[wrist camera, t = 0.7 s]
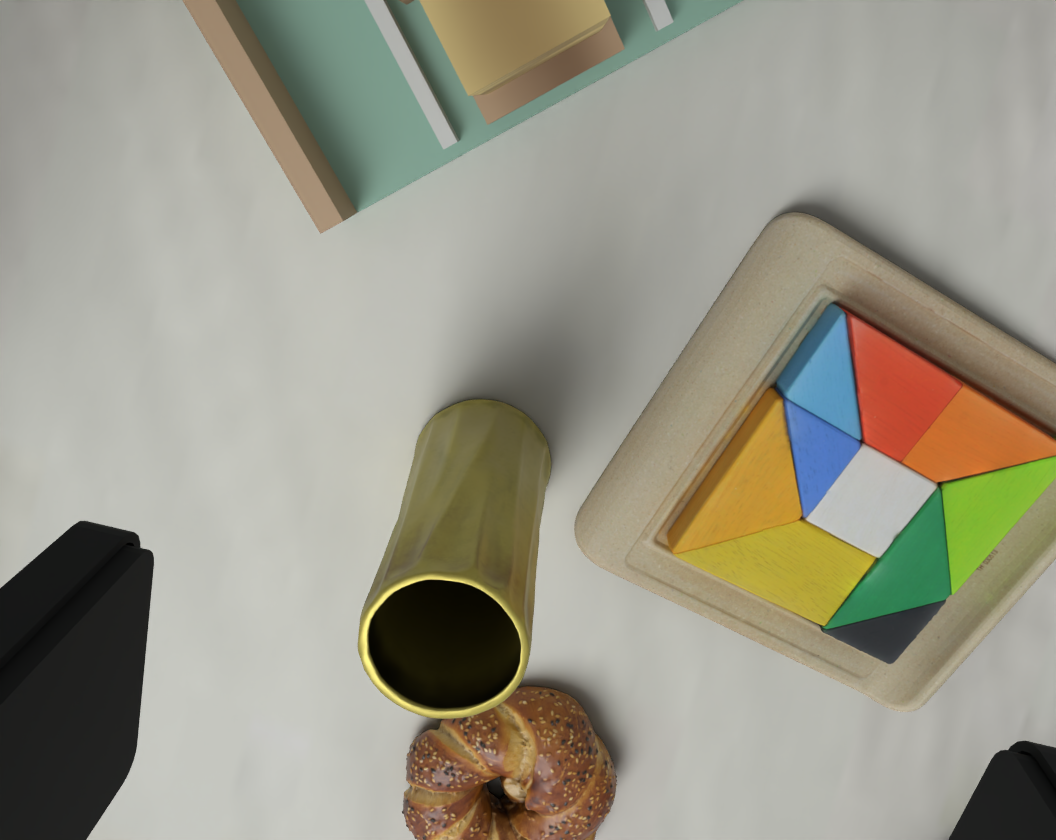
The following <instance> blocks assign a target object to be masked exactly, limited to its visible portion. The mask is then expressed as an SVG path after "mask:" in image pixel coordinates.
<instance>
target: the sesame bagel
mask: <svg viewBox="0 0 1056 840" xmlns="http://www.w3.org/2000/svg"><path fill="white" fill-rule="evenodd" d="M406 770H407V777H406V780H407V781H408V783H409V784H410V786H411V787H410V788H409V789H408V790H406V791H405V792H404V801H403V802H404V803H403V811H402V813H403V814H404V816H405V819H406V826H407V827H408V828H409V831H411V832H412V833H413V835H414V837H415V839H416V838H417V840H594V839H595V835H596V831H597V829H598V828H599V826H600V824H601V823H602V822H603V821H604V818H605V817H606V815H607V814H608V813H609V812H610V809H611V806H612V804H613V801H614V798H615V792H616V785H617V784H616V782H617V780H616V778H617V775H616V774H615V770H614V764H613V760H612V759H611V756H610V755H609V753H608V751H607V749H606V747H605V745H604V744H603V742H602V740H601V739H600V738H599V737H598V735H597V734H595V733H594V730H593V727H592V725H591V722H590V720H589V718H588V716H587V715H586V713H585V712H584V710H583V708H582V707H581V706H580V705H579V703H578V702H577V701H576V700H575V699H573V698H572V697H570V696H569V695H568V694H565V693H562V692H560V691H557V690H554V689H550V688H545V687H529V686H525V687H519V688H516V690H515V691H514V692H513V693H512V694H511V695H510V696H509V697H508V698H507V699H506V700H505V701H503V702H502V703H500V704H499V705H497V706H495V707H493V708H491V709H489V710H487V711H485V712H482V713H479V714H476V715H473V716H469V717H463V718H452V719H443V720H442V721H441V724H440V726H439V728H438V730H432V729H430V730H427V731H425V732H423V733H422V734H421V735H420V736H417V737H416V738H415V740H414V741H413V743H412V744H411V745H410V751H409V753H408V754H407V766H406ZM499 776H500V780H501V787H502V788H503V791H504V793H505V796H503V797H502V798H501V799H500V800H499V799H498V798H497V797H495V796H494V795H493V794H491V793H489V791H488V788H487V785H486V782H488V781H491V780H493V779H495V778H497V777H499Z"/></svg>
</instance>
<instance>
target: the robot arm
mask: <svg viewBox="0 0 1056 840" xmlns="http://www.w3.org/2000/svg"><path fill="white" fill-rule="evenodd" d="M153 567H154V557H153V553H152V552H151V551H150V550H147V549H142V548H140V540H139V536H138V535H137V534H136V533H135V532H130V531H126V530H122V529H118V528H113V527H109V526H105V525H101V524H96V523H92V522H88V521H79V522H78V523H76V524H75V525H73V526H72V527H71V528H70V529H68V530H67V531H66V532H65V533H64V534H63V535H62V536H60V537H59V538H58V539H57V540H56V541H55V542H53V543H52V544H51V545H50V546H49V547H48V548H46V549H45V550H44V551H43V552H42V553H41V554H40V555H38V556H37V557H36V558H35V559H34V560H33V561H31V562H30V563H29V564H28V565H27V566H26V567H25V568H23V569H22V570H21V571H20V572H19V573H18V574H16V575H15V576H14V577H13V578H12V579H11V580H9V581H8V582H7V583H6V584H5V585H4V586H3V587H1V588H0V840H86V839H87V837H88V836H89V834H90V833H91V831H92V830H93V828H94V827H95V825H96V824H97V822H98V821H99V819H100V818H101V816H102V815H103V813H104V812H105V810H106V809H107V807H108V806H109V804H110V803H111V801H112V800H113V798H114V796H115V795H116V793H117V792H118V790H119V789H120V787H121V786H122V784H123V783H124V781H125V779H126V777H127V775H128V773H129V771H130V768H131V766H132V763H133V760H134V757H135V753H136V748H137V739H138V728H139V718H140V707H141V696H142V685H143V675H144V664H145V653H146V642H147V632H148V621H149V610H150V599H151V589H152V578H153ZM949 840H1056V748H1054V747H1050V746H1046V745H1041V744H1037V743H1033V742H1029V741H1019V742H1017V743H1015V744H1014V745H1012V746H1011V747H1010V748H1009V750H1002V751H999V752H998V753H996V754H995V755H994V757H993V758H992V760H991V761H990V763H989V765H988V767H987V769H986V771H985V773H984V774H983V776H982V778H981V780H980V782H979V784H978V786H977V787H976V789H975V791H974V793H973V795H972V797H971V799H970V801H969V802H968V804H967V806H966V808H965V810H964V812H963V814H962V816H961V817H960V819H959V821H958V823H957V825H956V827H955V829H954V831H953V832H952V834H951V836H950V838H949Z"/></svg>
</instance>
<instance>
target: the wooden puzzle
mask: <svg viewBox="0 0 1056 840" xmlns="http://www.w3.org/2000/svg"><path fill="white" fill-rule="evenodd" d="M574 530H575V538H576V542H577V544H578V546H579V548H580V549H581V551H582V552H583V553H584V554H585V556H587V557H588V558H589V559H590V560H591V561H592V562H593V563H595V564H596V565H598V566H599V567H601V568H603V569H605V570H607V571H609V572H611V573H613V574H615V575H617V576H619V577H621V578H623V579H625V580H628V581H630V582H632V583H634V584H636V585H638V586H640V587H642V588H645V589H647V590H649V591H651V592H653V593H655V594H657V595H659V596H662V597H664V598H666V599H668V600H670V601H672V602H674V603H676V604H679V605H681V606H683V607H685V608H687V609H689V610H691V611H693V612H695V613H697V614H700V615H702V616H704V617H706V618H708V619H710V620H712V621H714V622H716V623H719V624H721V625H723V626H725V627H727V628H729V629H731V630H733V631H735V632H737V633H739V634H741V635H743V636H746V637H748V638H750V639H752V640H754V641H756V642H758V643H760V644H762V645H764V646H766V647H768V648H770V649H772V650H775V651H777V652H779V653H781V654H783V655H785V656H787V657H789V658H791V659H793V660H795V661H797V662H800V663H802V664H804V665H806V666H808V667H810V668H812V669H814V670H816V671H818V672H820V673H822V674H825V675H827V676H829V677H831V678H833V679H835V680H837V681H839V682H841V683H843V684H845V685H847V686H849V687H851V688H853V689H856V690H858V691H859V692H861V693H863V694H865V695H867V696H868V697H870V698H871V699H873V700H874V701H876V702H878V703H880V704H881V705H883V706H885V707H887V708H890V709H892V710H895V711H900V712H910V711H914V710H917V709H919V708H921V707H922V706H923V705H924V704H925V703H926V702H927V701H928V700H929V699H930V698H931V697H932V696H933V695H934V694H935V693H936V691H937V690H938V689H939V688H940V687H941V686H942V685H943V684H944V683H945V682H946V680H947V679H948V678H949V677H950V676H951V675H952V674H953V673H954V672H955V670H956V669H957V668H958V667H959V666H960V665H961V664H962V663H963V662H964V660H965V659H966V658H967V657H968V656H969V655H970V654H971V653H972V652H973V650H974V649H975V648H976V647H977V646H978V645H979V644H980V643H981V642H982V640H983V639H984V638H985V637H986V636H987V635H988V634H989V633H990V632H991V630H992V629H993V628H994V627H995V626H996V625H997V624H998V623H999V622H1000V620H1001V619H1002V618H1003V617H1004V616H1005V615H1006V614H1007V613H1008V612H1009V610H1010V609H1011V608H1012V607H1013V606H1014V605H1015V604H1016V603H1017V602H1018V600H1019V599H1020V598H1021V597H1022V596H1023V595H1024V594H1025V593H1026V591H1027V590H1028V589H1029V588H1030V587H1031V586H1032V585H1033V584H1034V583H1035V581H1036V580H1037V579H1038V578H1039V577H1040V576H1041V575H1042V574H1043V572H1044V571H1045V570H1046V569H1047V568H1048V567H1049V566H1050V565H1051V563H1052V562H1053V561H1054V560H1055V559H1056V363H1054V362H1052V361H1051V360H1049V359H1047V358H1046V357H1044V356H1043V355H1041V354H1039V353H1038V352H1036V351H1034V350H1033V349H1031V348H1029V347H1028V346H1026V345H1025V344H1023V343H1021V342H1020V341H1018V340H1016V339H1015V338H1013V337H1011V336H1010V335H1008V334H1007V333H1005V332H1003V331H1002V330H1000V329H998V328H997V327H995V326H993V325H992V324H990V323H989V322H987V321H985V320H984V319H982V318H981V317H979V316H977V315H976V314H974V313H973V312H971V311H969V310H968V309H966V308H964V307H963V306H961V305H960V304H958V303H956V302H955V301H953V300H952V299H950V298H948V297H947V296H945V295H943V294H942V293H940V292H939V291H937V290H935V289H934V288H932V287H931V286H929V285H927V284H926V283H924V282H922V281H921V280H919V279H918V278H916V277H914V276H913V275H911V274H910V273H908V272H906V271H905V270H903V269H902V268H900V267H898V266H897V265H895V264H893V263H892V262H890V261H889V260H887V259H885V258H884V257H882V256H880V255H879V254H877V253H875V252H874V251H872V250H871V249H869V248H867V247H866V246H864V245H862V244H861V243H859V242H857V241H856V240H854V239H852V238H851V237H849V236H848V235H846V234H844V233H843V232H841V231H840V230H838V229H836V228H835V227H833V226H831V225H829V224H828V223H826V222H824V221H823V220H820V219H818V218H816V217H814V216H812V215H810V214H805V213H800V212H791V213H786V214H782V215H780V216H778V217H776V218H774V219H773V220H772V221H771V222H770V223H769V224H768V225H767V226H766V227H765V228H764V229H763V231H762V232H761V234H760V235H759V237H758V238H757V239H756V241H755V242H754V244H753V245H752V247H751V248H750V250H749V251H748V253H747V254H746V256H745V257H744V259H743V260H742V262H741V263H740V265H739V266H738V268H737V269H736V271H735V272H734V274H733V275H732V277H731V279H730V280H729V282H728V283H727V285H726V286H725V288H724V289H723V291H722V292H721V294H720V295H719V297H718V298H717V300H716V301H715V303H714V304H713V306H712V307H711V309H710V310H709V312H708V313H707V315H706V316H705V318H704V319H703V321H702V322H701V324H700V325H699V327H698V329H697V330H696V332H695V333H694V335H693V336H692V338H691V339H690V341H689V342H688V344H687V345H686V347H685V348H684V350H683V351H682V353H681V354H680V356H679V357H678V359H677V360H676V362H675V363H674V365H673V367H672V368H671V370H670V371H669V373H668V374H667V376H666V377H665V379H664V380H663V382H662V383H661V385H660V386H659V388H658V389H657V391H656V392H655V394H654V396H653V397H652V399H651V400H650V402H649V403H648V405H647V406H646V408H645V409H644V411H643V412H642V414H641V415H640V417H639V418H638V420H637V422H636V423H635V425H634V426H633V428H632V429H631V431H630V432H629V434H628V435H627V437H626V438H625V440H624V441H623V443H622V444H621V446H620V448H619V449H618V451H617V452H616V454H615V455H614V457H613V458H612V460H611V461H610V463H609V464H608V466H607V467H606V469H605V470H604V472H603V474H602V475H601V477H600V478H599V480H598V481H597V483H596V484H595V486H594V487H593V489H592V491H591V492H590V494H589V495H588V497H587V499H586V500H585V502H584V503H583V505H582V506H581V508H580V510H579V512H578V514H577V516H576V520H575V528H574Z"/></svg>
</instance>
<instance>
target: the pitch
mask: <svg viewBox="0 0 1056 840" xmlns="http://www.w3.org/2000/svg"><path fill="white" fill-rule="evenodd" d="M604 1H605V4H606V6H607V8H608V10H609V13H610V15H611V16H610V17H611V19H612V21H613V23H614V26H615V28H616V30H617V32H618V34H619V37H620V39H621V41H622V43H623V46H624V48H625V49H624V50H622V51H621V52H619V53H617V54H615V55H613V56H612V57H610V58H608V59H606V60H604V61H603V62H601V63H599V64H597V65H595V66H594V67H592V68H590V69H588V70H586V71H585V72H583V73H581V74H579V75H577V76H576V77H574V78H572V79H570V80H568V81H567V82H565V83H563V84H561V85H559V86H557V87H556V88H554V89H552V90H550V91H548V92H547V93H545V94H543V95H541V96H539V97H538V98H536V99H534V100H532V101H530V102H529V103H527V104H525V105H523V106H521V107H520V108H518V109H516V110H514V111H512V112H511V113H509V114H507V115H505V116H503V117H502V118H500V119H498V120H496V121H494V122H492V123H491V124H489V125H487V123H486V121H485V119H484V117H483V115H482V113H481V111H480V109H479V107H478V105H477V103H476V101H475V99H474V97H473V96H468V94H467V93H466V91H465V89H464V87H463V85H462V83H461V81H460V79H459V77H458V75H457V73H456V71H455V69H454V67H453V65H452V63H451V61H450V59H449V57H448V55H447V53H446V51H445V49H444V48H443V46H442V44H441V42H440V40H439V38H438V36H437V34H436V32H435V30H434V28H433V26H432V24H431V22H430V20H429V18H428V16H427V14H426V12H425V10H424V8H423V6H422V4H421V3H420V1H419V0H414V1H412V2H411V3H409V4H407V5H406V4H405V3H403V2H401V1H399V0H183V2H184V4H185V5H186V7H187V9H188V10H189V12H190V14H191V15H192V17H193V19H194V21H195V22H196V24H197V26H198V27H199V29H200V31H201V32H202V34H203V36H204V37H205V39H206V41H207V43H208V44H209V46H210V48H211V49H212V51H213V53H214V54H215V56H216V58H217V59H218V61H219V63H220V64H221V66H222V68H223V70H224V71H225V73H226V75H227V76H228V78H229V80H230V81H231V83H232V85H233V86H234V88H235V90H236V92H237V93H238V95H239V97H240V98H241V100H242V102H243V103H244V105H245V107H246V108H247V110H248V112H249V114H250V115H251V117H252V119H253V120H254V122H255V124H256V125H257V127H258V129H259V130H260V132H261V134H262V136H263V137H264V139H265V141H266V142H267V144H268V146H269V147H270V149H271V151H272V152H273V154H274V156H275V158H276V159H277V161H278V163H279V164H280V166H281V168H282V169H283V171H284V173H285V174H286V176H287V178H288V180H289V181H290V183H291V185H292V186H293V188H294V190H295V191H296V193H297V195H298V196H299V198H300V200H301V202H302V203H303V205H304V207H305V208H306V210H307V212H308V213H309V215H310V217H311V218H312V220H313V222H314V224H315V225H316V227H317V229H318V230H319V232H320V234H321V233H323V232H324V231H326V230H328V229H330V228H332V227H333V226H335V225H337V224H339V223H341V222H343V221H344V220H346V219H348V218H349V217H351V216H352V215H354V214H356V213H357V212H359V211H361V210H363V209H365V208H367V207H368V206H370V205H372V204H374V203H376V202H377V201H379V200H381V199H383V198H385V197H387V196H388V195H390V194H392V193H394V192H396V191H397V190H399V189H401V188H403V187H405V186H407V185H408V184H410V183H412V182H414V181H416V180H417V179H419V178H421V177H423V176H425V175H427V174H428V173H430V172H432V171H434V170H436V169H437V168H439V167H441V166H443V165H445V164H447V163H448V162H450V161H452V160H454V159H456V158H457V157H459V156H461V155H463V154H465V153H467V152H468V151H470V150H472V149H474V148H476V147H477V146H479V145H481V144H483V143H485V142H487V141H488V140H490V139H492V138H494V137H496V136H497V135H499V134H501V133H503V132H505V131H507V130H508V129H510V128H512V127H514V126H516V125H517V124H519V123H521V122H523V121H525V120H527V119H528V118H530V117H532V116H534V115H536V114H537V113H539V112H541V111H543V110H545V109H547V108H548V107H550V106H552V105H554V104H556V103H557V102H559V101H561V100H563V99H565V98H567V97H568V96H570V95H572V94H574V93H576V92H577V91H579V90H581V89H583V88H585V87H587V86H588V85H590V84H592V83H594V82H596V81H597V80H599V79H601V78H603V77H605V76H607V75H608V74H610V73H612V72H614V71H616V70H617V69H619V68H621V67H623V66H625V65H627V64H628V63H630V62H632V61H634V60H636V59H637V58H639V57H641V56H643V55H645V54H647V53H648V52H650V51H652V50H654V49H656V48H657V47H659V46H661V45H663V44H665V43H667V42H668V41H670V40H672V39H674V38H676V37H677V36H679V35H681V34H683V33H685V32H687V31H688V30H690V29H692V28H694V27H696V26H697V25H699V24H701V23H703V22H705V21H707V20H708V19H710V18H712V17H714V16H716V15H717V14H719V13H721V12H723V11H725V10H727V9H728V8H730V7H732V6H734V5H736V4H737V3H739V2H741V1H743V0H604Z"/></svg>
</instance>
